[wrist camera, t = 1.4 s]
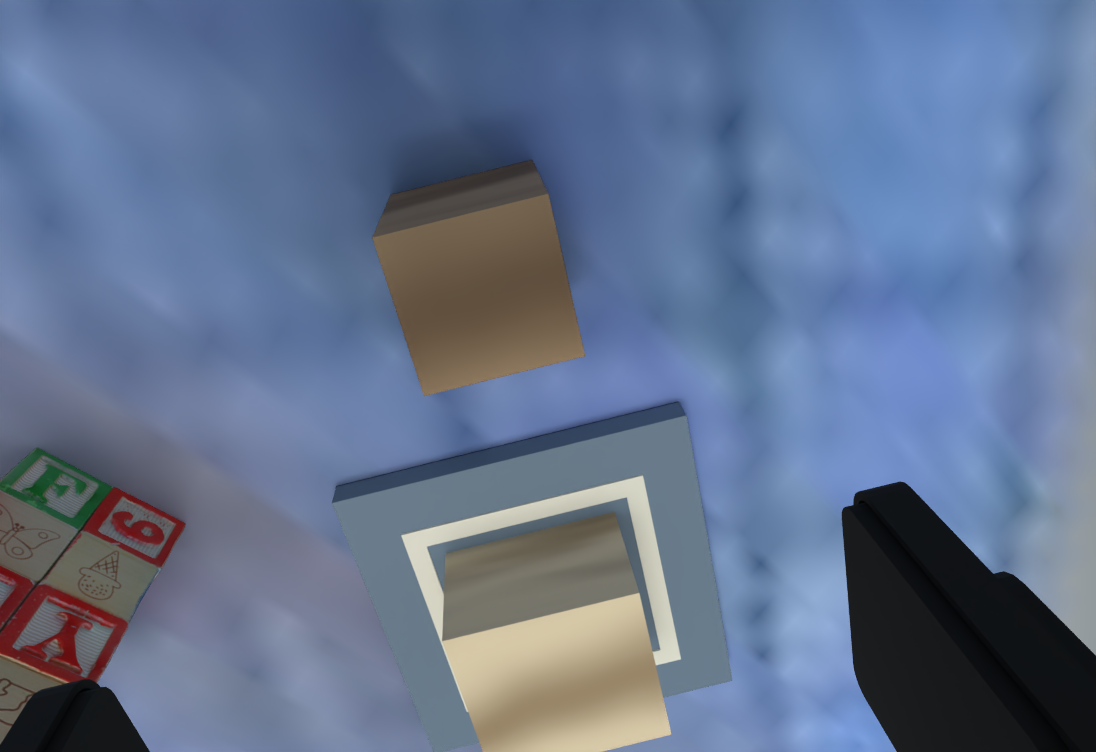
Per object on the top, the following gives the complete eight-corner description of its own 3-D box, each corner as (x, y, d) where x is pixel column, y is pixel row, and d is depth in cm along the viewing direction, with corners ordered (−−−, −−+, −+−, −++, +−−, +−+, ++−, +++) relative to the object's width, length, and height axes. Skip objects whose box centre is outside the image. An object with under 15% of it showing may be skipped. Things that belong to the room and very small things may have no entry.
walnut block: (390, 194, 27) (372, 237, 22) (531, 159, 27) (548, 193, 22) (431, 326, 30) (424, 395, 24) (563, 294, 30) (585, 356, 24)
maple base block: (445, 553, 32) (442, 641, 28) (614, 511, 32) (639, 592, 28) (489, 679, 35) (493, 777, 30) (644, 641, 35) (671, 734, 30)
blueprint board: (336, 486, 32) (331, 504, 31) (678, 401, 32) (686, 416, 31) (435, 732, 38) (434, 755, 36) (724, 661, 38) (732, 682, 36)
